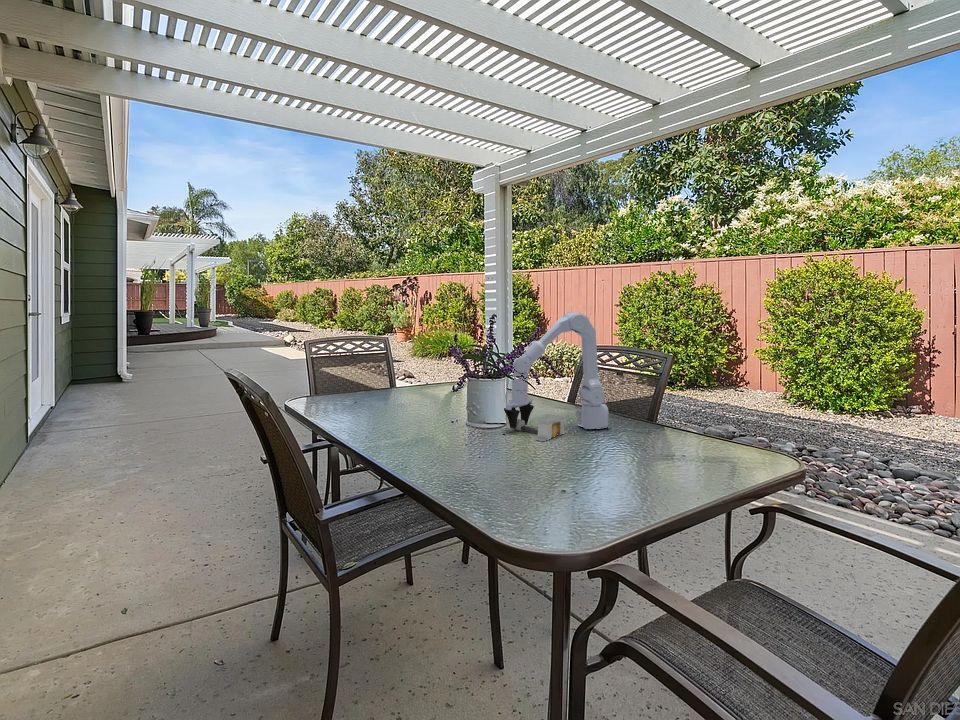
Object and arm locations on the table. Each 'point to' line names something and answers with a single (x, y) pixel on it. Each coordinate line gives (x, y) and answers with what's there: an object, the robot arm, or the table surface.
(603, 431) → the table surface
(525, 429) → the plug
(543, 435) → the housing
